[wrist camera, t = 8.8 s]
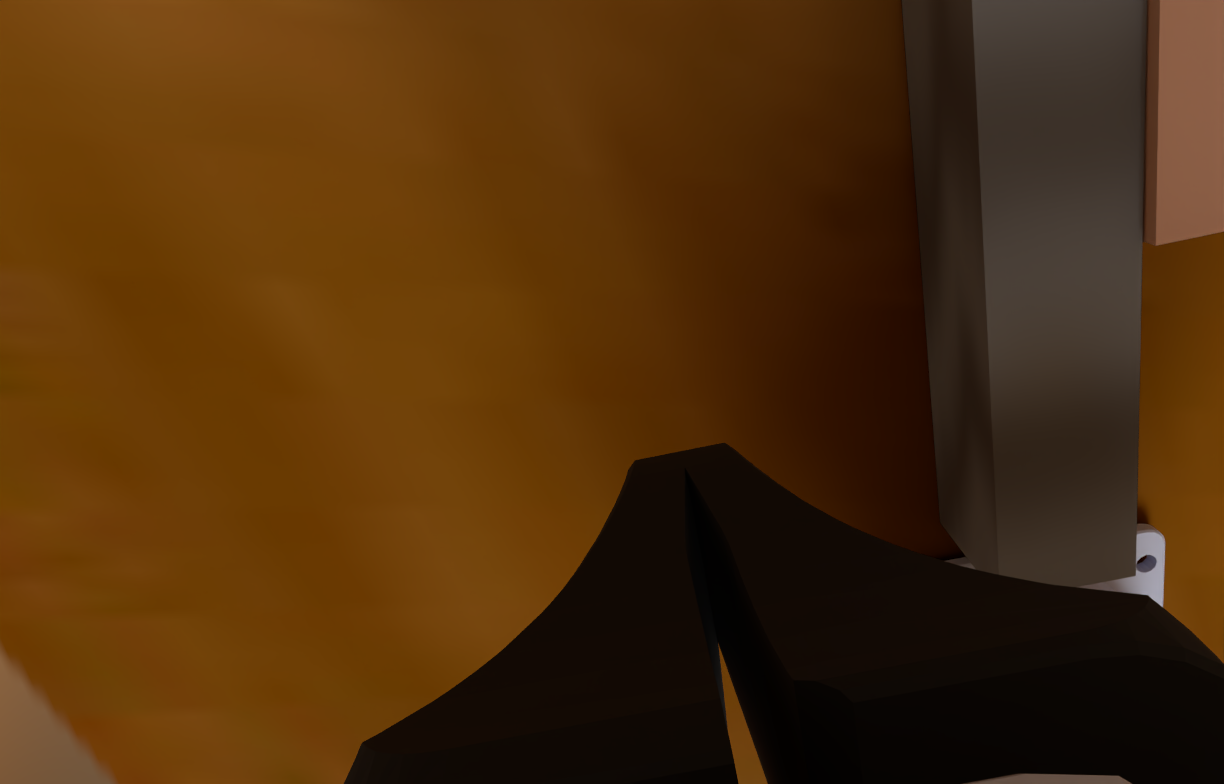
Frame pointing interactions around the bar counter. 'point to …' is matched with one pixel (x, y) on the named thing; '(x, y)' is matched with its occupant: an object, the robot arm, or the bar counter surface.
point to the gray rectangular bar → (1032, 275)
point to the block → (1183, 120)
